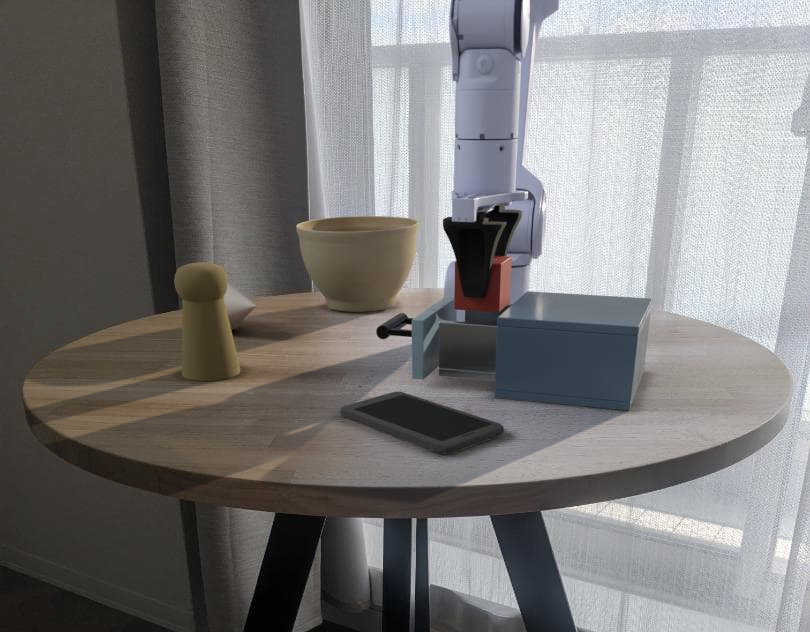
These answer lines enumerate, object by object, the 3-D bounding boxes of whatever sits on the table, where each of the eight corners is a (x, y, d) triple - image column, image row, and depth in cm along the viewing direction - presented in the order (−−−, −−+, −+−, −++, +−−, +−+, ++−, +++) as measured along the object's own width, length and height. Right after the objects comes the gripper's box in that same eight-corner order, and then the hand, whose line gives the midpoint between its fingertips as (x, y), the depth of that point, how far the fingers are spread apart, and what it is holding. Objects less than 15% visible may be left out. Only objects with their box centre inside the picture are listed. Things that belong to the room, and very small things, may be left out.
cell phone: (397, 397, 82) (397, 389, 82) (508, 434, 73) (508, 425, 73) (336, 415, 78) (336, 406, 78) (446, 456, 69) (446, 447, 68)
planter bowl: (363, 289, 130) (361, 212, 125) (443, 305, 119) (443, 221, 114) (277, 306, 119) (271, 223, 115) (356, 325, 109) (353, 234, 104)
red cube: (453, 309, 84) (454, 261, 82) (466, 300, 88) (467, 254, 86) (499, 312, 83) (501, 263, 81) (509, 303, 87) (512, 256, 85)
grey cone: (259, 344, 100) (201, 341, 112) (289, 304, 102) (228, 305, 113) (222, 307, 97) (165, 308, 108) (253, 266, 98) (194, 271, 109)
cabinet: (494, 397, 82) (497, 317, 79) (522, 363, 93) (526, 291, 90) (629, 411, 79) (639, 326, 75) (643, 373, 89) (652, 298, 86)
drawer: (367, 374, 86) (365, 316, 84) (404, 347, 96) (404, 293, 93) (527, 389, 82) (530, 328, 79) (550, 358, 91) (554, 302, 89)
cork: (250, 367, 92) (241, 260, 88) (222, 383, 87) (210, 270, 82) (201, 362, 94) (188, 257, 89) (170, 378, 89) (155, 267, 84)
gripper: (511, 142, 71) (503, 309, 78) (545, 136, 84) (536, 280, 90) (429, 142, 74) (428, 304, 80) (474, 135, 86) (470, 277, 92)
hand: (481, 292), depth 85 cm, fingers closed on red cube, 4 cm apart
